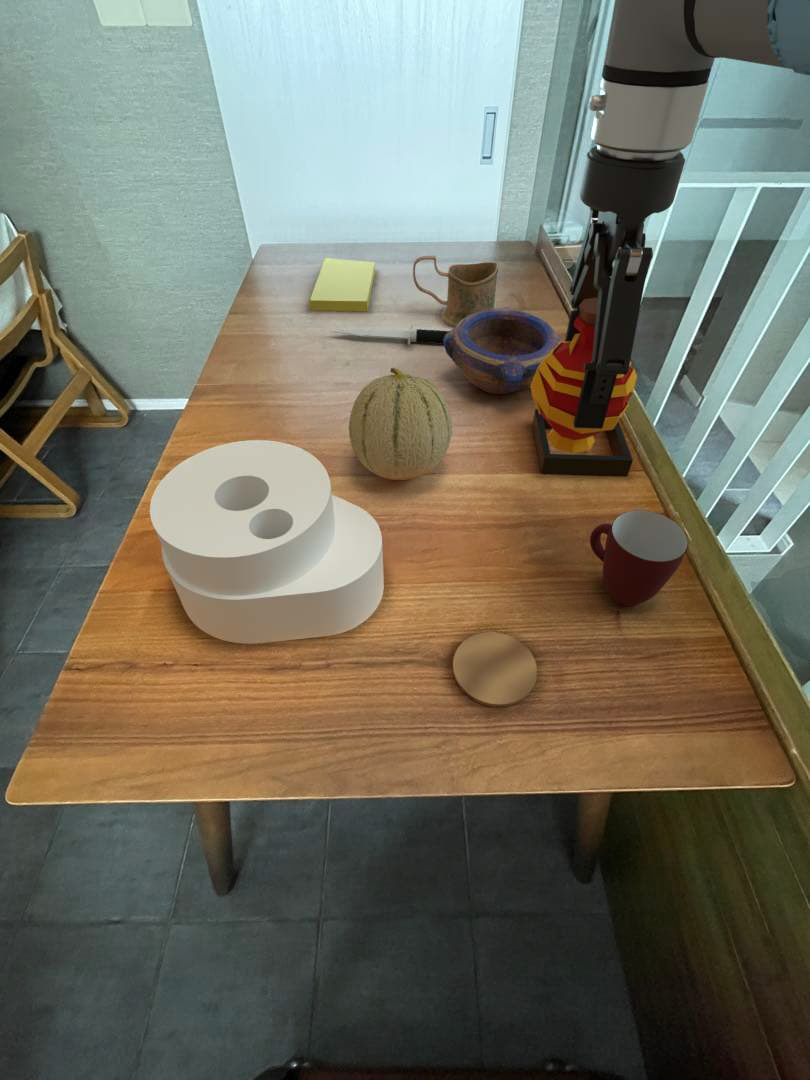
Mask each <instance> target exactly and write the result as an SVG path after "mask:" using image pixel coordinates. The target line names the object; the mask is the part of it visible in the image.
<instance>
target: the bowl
mask: <svg viewBox="0 0 810 1080" xmlns="http://www.w3.org/2000/svg"><path fill="white" fill-rule="evenodd" d="M448 331H449V332H448V333H447V334H446V335H445V336H444V339H443V342H444V344H443V348H444V350H445V353H446V354H447V356H448V358H450V359H451V360H452V362H453V363H454V364H455V365H456V366H457V367H458V369H459V371H460V372H461V373H462V375H463V376H464V377H465V379H467V381H469V383H471V384H472V385H474V386H475V387H477V388H479V389H481V390H482V391H484V392H486V393H489V394H494V395H506V394H509V393H514V392H518V391H521V390H525V389H527V388H531V387H530V385H531V383H532V380H533V378H534V375H535V373H536V370H537V368H538V366H539V365H540V364H541V362H542V361H543V359H544V358H545V357H546V356H547V355H548V354H549V353H550V352H551V351H552V350H553V349H554V348H555V347H556V346H557V345H558V344H559V343H560V342H564V341H563V340H562V338H561V337H560V336H559V335H558V333H557V332H556V330H555V329H554V328H553V326H551V325H550V323H548V322H547V321H545V320H544V319H542V318H541V317H539V316H537V315H534V314H532V313H530V312H527V311H522V310H518V309H514V308H511V307H509V306H505V307H504V306H503V307H498V308H493V309H491V310H484V311H480V312H477V313H474V314H471V315H469V316H467V317H466V318H464V319H463V320H461V321H460V322H459V323H458V325H457V326H456V327H453V328H452V329H450V330H448Z"/></svg>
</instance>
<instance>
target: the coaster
mask: <svg viewBox="0 0 810 1080" xmlns="http://www.w3.org/2000/svg"><path fill="white" fill-rule="evenodd" d="M452 658H453V659H452V673H453V674H452V675H453V678H454V680H455V683H456V684H457V686H458V688H459V689H460V690H461V692H463V693H464V695H465V696H467V697H468V698H470V699H471V700H472V701H474V702H476V703H478V704H480V705H484V706H488V707H493V708H504V707H505V708H506V707H510V706H514V705H516V704H518V703H519V704H520V702H522V701H524V700H525V699H526V698H527V697H528V696H529V695H530V694H531V693H532V692H533V690H534V687H535V686H536V682H537V679H538V667H537V662H536V659H535V656H533V653H532V651H530V649H529V648H528V647H527V646H526V645H525V643H523V642H522V641H520V640H518V638H516V637H513V636H511V635H509V634H506V633H502V632H499V631H498V632H497V631H485V632H479V633H476V634H473V635H471V636H468V638H466V639H464V640H463V641H462V642H461V643H460V645H458V647H457V648H456V650H455V652H454V654H453V657H452Z"/></svg>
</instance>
